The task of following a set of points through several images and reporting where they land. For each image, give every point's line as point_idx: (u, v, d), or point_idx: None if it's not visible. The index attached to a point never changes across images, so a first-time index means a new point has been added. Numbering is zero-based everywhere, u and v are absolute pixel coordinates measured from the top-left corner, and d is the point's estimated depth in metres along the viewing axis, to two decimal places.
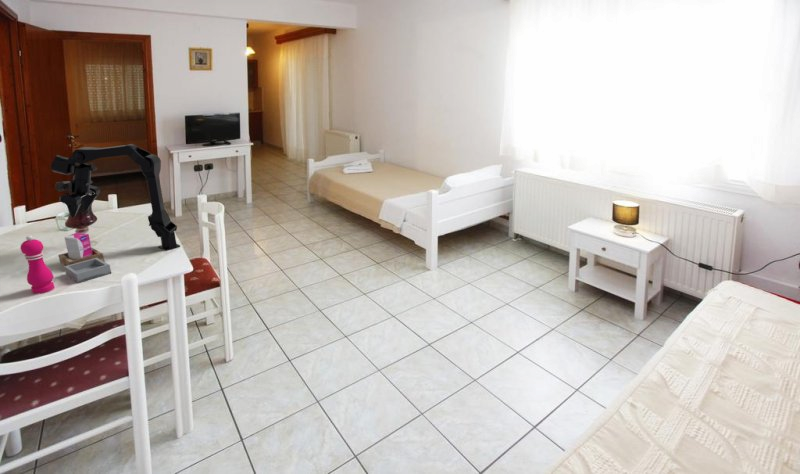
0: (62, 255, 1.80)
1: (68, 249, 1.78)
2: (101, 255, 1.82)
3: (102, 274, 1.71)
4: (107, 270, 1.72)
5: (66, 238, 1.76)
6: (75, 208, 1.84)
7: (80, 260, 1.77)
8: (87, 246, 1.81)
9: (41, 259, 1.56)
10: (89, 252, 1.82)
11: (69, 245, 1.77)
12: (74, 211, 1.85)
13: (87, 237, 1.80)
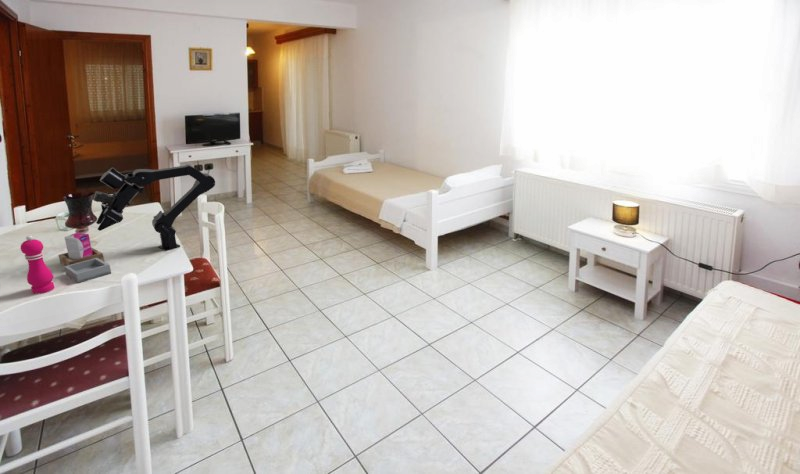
0: (62, 255, 1.80)
1: (68, 249, 1.78)
2: (101, 255, 1.82)
3: (102, 274, 1.71)
4: (107, 270, 1.72)
5: (66, 238, 1.76)
6: (110, 223, 1.79)
7: (80, 260, 1.77)
8: (87, 246, 1.81)
9: (41, 259, 1.56)
10: (89, 252, 1.82)
11: (69, 245, 1.77)
12: (106, 226, 1.79)
13: (87, 237, 1.80)
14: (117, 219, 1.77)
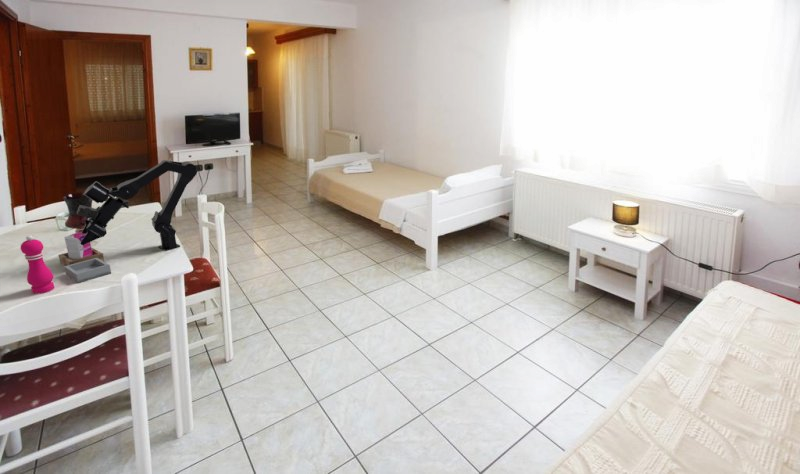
0: (62, 255, 1.80)
1: (68, 249, 1.78)
2: (101, 255, 1.82)
3: (102, 274, 1.71)
4: (107, 270, 1.72)
5: (66, 238, 1.76)
6: (93, 238, 1.77)
7: (80, 260, 1.77)
8: (87, 246, 1.81)
9: (41, 259, 1.56)
10: (89, 252, 1.82)
11: (69, 245, 1.77)
12: (89, 240, 1.77)
13: None
14: (100, 234, 1.75)
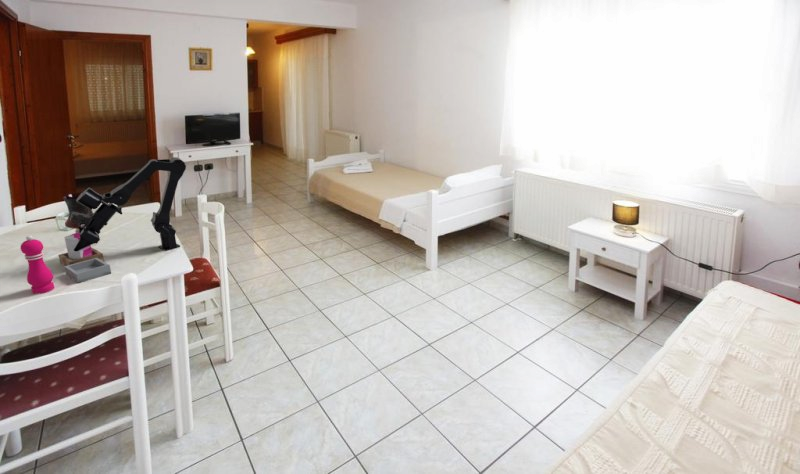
0: (62, 255, 1.80)
1: (68, 249, 1.78)
2: (101, 255, 1.82)
3: (102, 274, 1.71)
4: (107, 270, 1.72)
5: (66, 238, 1.76)
6: (87, 244, 1.77)
7: (80, 260, 1.77)
8: (87, 246, 1.81)
9: (41, 259, 1.56)
10: (89, 252, 1.82)
11: (69, 245, 1.77)
12: (82, 246, 1.76)
13: None
14: (93, 240, 1.74)
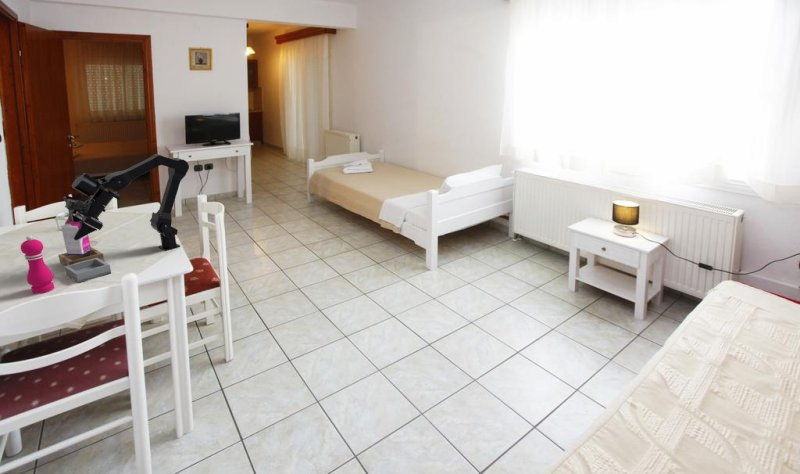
0: (62, 255, 1.80)
1: (65, 239, 1.70)
2: (101, 255, 1.82)
3: (102, 274, 1.71)
4: (107, 270, 1.72)
5: (63, 227, 1.68)
6: (88, 232, 1.70)
7: (80, 260, 1.77)
8: None
9: (41, 259, 1.56)
10: (87, 241, 1.75)
11: (67, 234, 1.69)
12: (83, 234, 1.70)
13: None
14: (97, 227, 1.69)
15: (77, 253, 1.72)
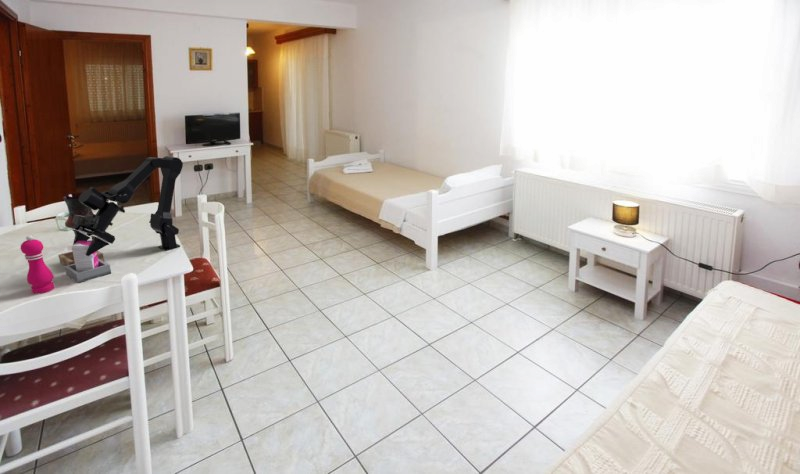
0: (62, 255, 1.80)
1: (76, 258, 1.67)
2: (101, 255, 1.82)
3: (102, 274, 1.71)
4: (107, 270, 1.72)
5: (74, 247, 1.65)
6: (100, 247, 1.68)
7: None
8: (95, 253, 1.71)
9: (41, 259, 1.56)
10: (96, 259, 1.73)
11: (78, 254, 1.67)
12: (95, 250, 1.67)
13: None
14: (110, 240, 1.68)
15: None
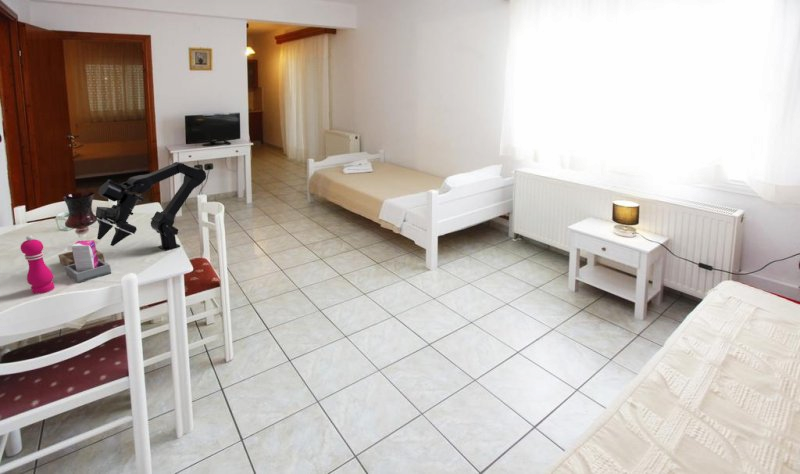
0: (62, 255, 1.80)
1: (76, 258, 1.67)
2: (101, 255, 1.82)
3: (102, 274, 1.71)
4: (107, 270, 1.72)
5: (74, 247, 1.65)
6: (123, 237, 1.77)
7: None
8: (95, 253, 1.71)
9: (41, 259, 1.56)
10: (96, 259, 1.73)
11: (78, 254, 1.67)
12: (119, 240, 1.77)
13: (94, 243, 1.71)
14: (132, 231, 1.77)
15: None
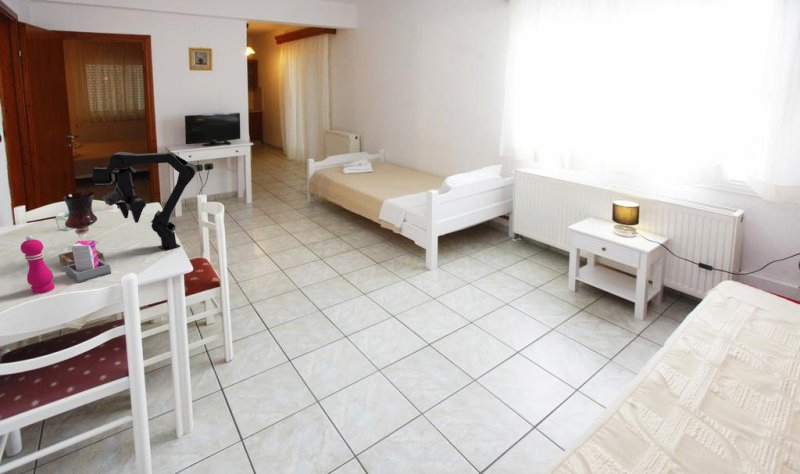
0: (62, 255, 1.80)
1: (76, 258, 1.67)
2: (101, 255, 1.82)
3: (102, 274, 1.71)
4: (107, 270, 1.72)
5: (74, 247, 1.65)
6: (140, 211, 1.88)
7: None
8: (95, 253, 1.71)
9: (41, 259, 1.56)
10: (96, 259, 1.73)
11: (78, 254, 1.67)
12: (139, 215, 1.88)
13: (94, 243, 1.71)
14: (142, 205, 1.85)
15: None
